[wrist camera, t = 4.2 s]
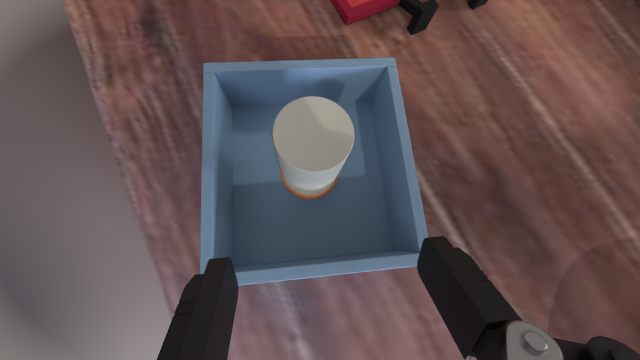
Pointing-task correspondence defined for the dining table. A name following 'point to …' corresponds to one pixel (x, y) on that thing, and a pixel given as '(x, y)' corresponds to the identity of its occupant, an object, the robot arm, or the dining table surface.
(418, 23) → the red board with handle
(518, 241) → the dining table surface
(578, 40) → the dining table surface
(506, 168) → the dining table surface
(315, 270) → the tote
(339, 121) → the white cylinder orange band
